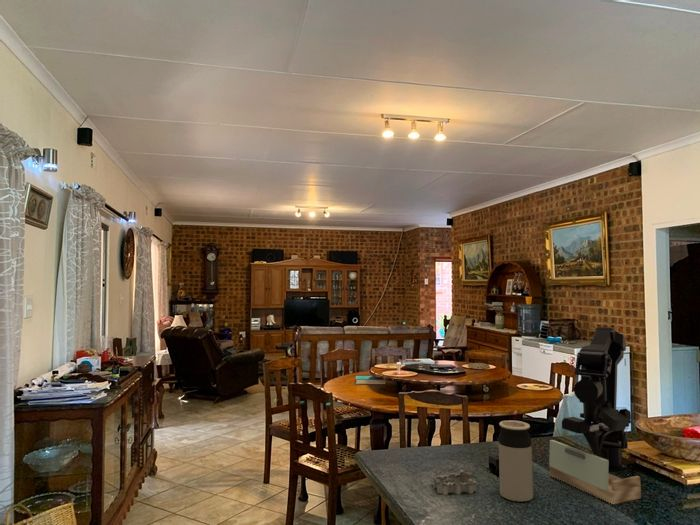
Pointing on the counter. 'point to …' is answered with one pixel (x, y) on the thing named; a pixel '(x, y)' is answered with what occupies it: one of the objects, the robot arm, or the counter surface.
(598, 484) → the panel
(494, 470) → the build plate
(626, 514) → the counter surface
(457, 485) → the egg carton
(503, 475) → the travel mug
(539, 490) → the counter surface
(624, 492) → the cart bed
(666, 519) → the counter surface
